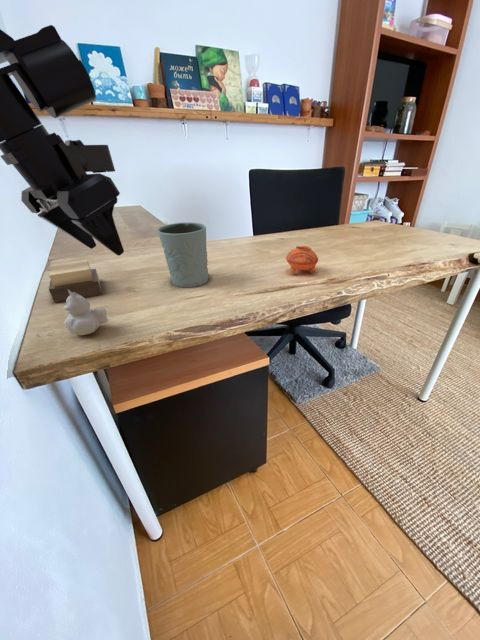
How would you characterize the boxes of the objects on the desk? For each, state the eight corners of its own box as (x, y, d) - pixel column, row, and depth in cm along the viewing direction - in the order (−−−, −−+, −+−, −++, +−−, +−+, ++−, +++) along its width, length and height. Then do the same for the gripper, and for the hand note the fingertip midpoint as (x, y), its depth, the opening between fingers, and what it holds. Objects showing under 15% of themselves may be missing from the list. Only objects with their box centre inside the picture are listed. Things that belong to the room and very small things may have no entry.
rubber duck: (71, 328, 52) (52, 285, 47) (112, 320, 54) (97, 278, 49) (68, 343, 48) (47, 298, 43) (112, 334, 50) (96, 290, 45)
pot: (278, 267, 76) (285, 240, 72) (305, 271, 78) (313, 245, 75) (289, 277, 69) (296, 247, 66) (318, 281, 72) (326, 253, 68)
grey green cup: (209, 271, 75) (203, 221, 68) (214, 286, 67) (208, 230, 60) (168, 275, 73) (157, 224, 66) (168, 291, 65) (156, 234, 58)
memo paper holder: (102, 294, 64) (93, 269, 61) (54, 303, 60) (43, 277, 57) (99, 280, 70) (91, 257, 67) (56, 288, 67) (46, 264, 64)
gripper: (110, 95, 33) (178, 226, 44) (51, 118, 43) (117, 219, 54) (19, 137, 28) (120, 271, 39) (-23, 151, 39) (67, 254, 50)
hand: (106, 250), depth 46 cm, fingers open, 9 cm apart
